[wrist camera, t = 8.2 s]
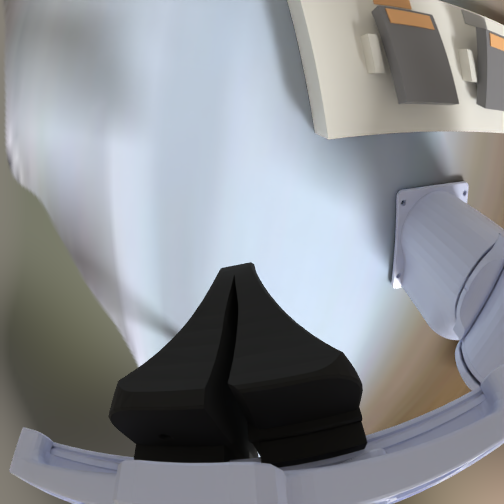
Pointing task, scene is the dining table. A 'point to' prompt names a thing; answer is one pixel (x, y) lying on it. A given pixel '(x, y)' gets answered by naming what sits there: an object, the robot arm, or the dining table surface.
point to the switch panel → (384, 69)
